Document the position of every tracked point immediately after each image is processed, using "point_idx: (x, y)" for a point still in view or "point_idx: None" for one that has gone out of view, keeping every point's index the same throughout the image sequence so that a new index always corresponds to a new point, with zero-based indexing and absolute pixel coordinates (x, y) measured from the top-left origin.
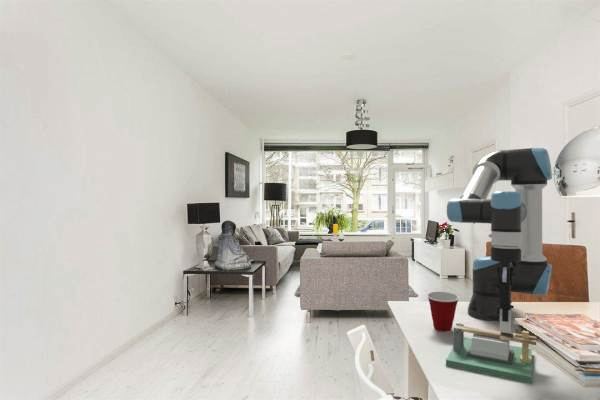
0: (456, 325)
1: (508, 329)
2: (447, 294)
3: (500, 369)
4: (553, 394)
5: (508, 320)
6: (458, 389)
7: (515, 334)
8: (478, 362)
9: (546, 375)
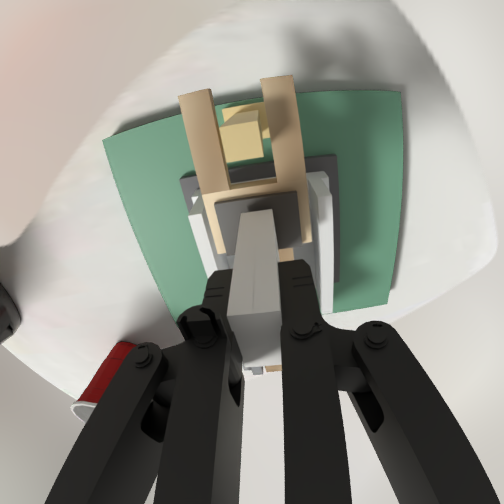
0: (274, 370)
1: (274, 230)
2: (81, 414)
3: (393, 180)
4: (425, 44)
5: (278, 262)
6: (482, 238)
7: (221, 190)
8: (370, 242)
9: (291, 50)
